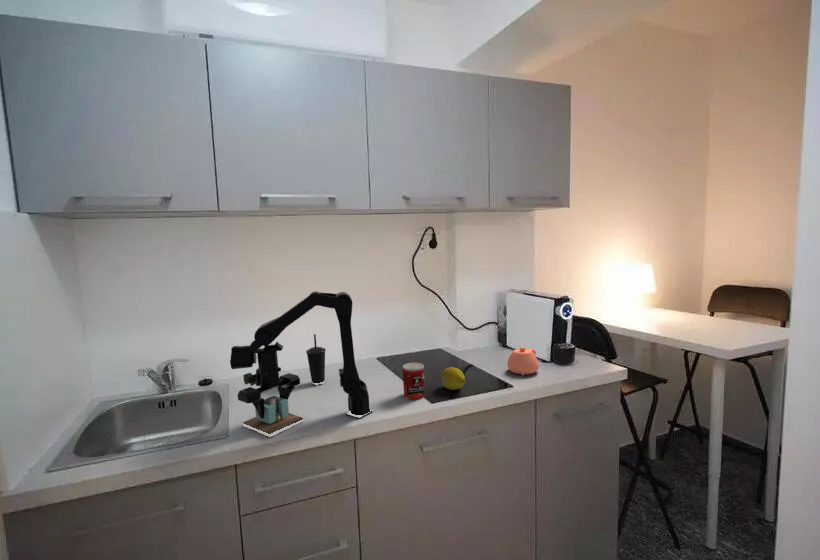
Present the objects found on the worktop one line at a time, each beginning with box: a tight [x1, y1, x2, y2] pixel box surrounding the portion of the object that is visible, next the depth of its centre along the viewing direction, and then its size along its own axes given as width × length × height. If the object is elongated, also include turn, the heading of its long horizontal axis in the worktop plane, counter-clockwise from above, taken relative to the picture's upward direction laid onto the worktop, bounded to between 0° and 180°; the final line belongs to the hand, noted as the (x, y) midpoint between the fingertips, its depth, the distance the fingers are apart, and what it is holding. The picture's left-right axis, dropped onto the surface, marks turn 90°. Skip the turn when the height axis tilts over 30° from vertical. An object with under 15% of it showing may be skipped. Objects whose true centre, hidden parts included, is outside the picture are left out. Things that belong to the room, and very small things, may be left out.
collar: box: [254, 395, 290, 424], centre depth 127 cm, size 7×7×5 cm
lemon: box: [440, 366, 466, 391], centre depth 149 cm, size 11×8×8 cm
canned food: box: [402, 362, 426, 400], centre depth 144 cm, size 8×8×11 cm
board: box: [242, 396, 304, 434], centre depth 127 cm, size 14×12×8 cm
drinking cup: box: [305, 333, 326, 383], centre depth 161 cm, size 8×8×20 cm
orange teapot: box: [506, 346, 540, 376], centre depth 164 cm, size 12×14×10 cm
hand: (272, 413), depth 127 cm, fingers closed on collar, 7 cm apart
